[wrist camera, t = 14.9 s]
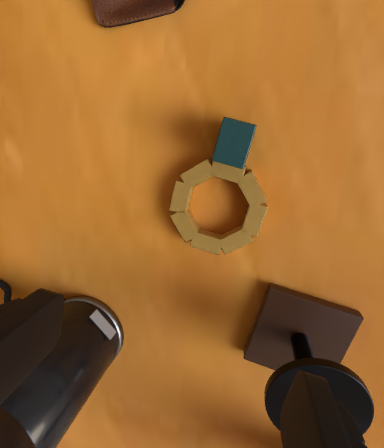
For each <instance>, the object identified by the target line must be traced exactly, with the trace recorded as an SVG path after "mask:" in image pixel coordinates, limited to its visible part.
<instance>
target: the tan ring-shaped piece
mask: <svg viewBox="0 0 384 448" xmlns="http://www.w3.org/2000/svg"><path fill="white" fill-rule="evenodd" d="M255 130H256V125H254V124H250V123H246V122H242V121H239V120H235V119H231V118H227V117H224V118H223V121H222V124H221V128H220V132H219V135H218V139H217V143H216V146H215V150H214V154H213V158H212V161H213V163H212V162H211V160H210V158H209V159H206V160H204V161H203V162H201V163H199V164H198V165H196V166H194V167H193V168H191V169H189V170H188V171H186V172H184V173H183V174H181V175H180V177H181V179H179V180H176V182H175V187H174V191H173V195H172V199H171V203H170V208H169V210H170V211H173V212H174V213H173V214H172V215H171V216H170V217H171V219H172V221H173V222H174V224H175V226H176V228H177V229H178V231H179V233H180V234H181V236H182V238H183V240H184V241H185V242H187V241H189V240H191V239H192V240H191V244H190V246H192V247H195V248H198V249H201V250H204V251H207V252H210V253H213V254H217V255H219V253H220V250H221V249H222V250H223V252H224V254H228V253H230V252H232V251H234V250H236V249H238V248H241V247H243V246H245V245H247V244H249V243H251V242H253V237H252V236H255V237H257V236H258V234H259V231H260V228H261V225H262V222H263V219H264V217H265V214H266V211H267V208H268V207H267V204H265V203H263V202H265V201H267V198H266V196H265V194H264V192H263V190H262V189H261V187H260V185H259V183H258V181H257V179H256V177H255V175H254V173H253V172H252V170H250V171H249V172H247V173H245V170H246V166H245V162H246V159H247V156H248V152H249V149H250V146H251V143H252V139H253V136H254V133H255ZM244 173H245V174H244ZM212 176H214V177H217V178H221V179H224V180H228V181H231V182H235V183H237V184H238V185H239V187H240V189H241V191H242V193H243V195H244V196H245V198H246V200H247V202H248V204H249V205H248V209H247V212H246V215H245V218H244V221H243V224H242V225H241V226H239V227H237V228H235V229H233V230H231V231H229V232H227V233H225V234H223V235H220V234H217V233H214V232H210V231H207V230H204V229H201V228H199V226H198V224H197V222H196V221H195V219H194V217H193V215H192V214H191V212H190V210H189V205H190V201H191V197H192V193H193V189H194V187H195V186H196V185H198V184H200V183H202V182H203V181H205V180H207V179H209V178H210V177H212Z"/></svg>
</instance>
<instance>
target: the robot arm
mask: <svg viewBox="0 0 384 448" xmlns="http://www.w3.org/2000/svg"><path fill="white" fill-rule="evenodd" d="M0 288H1V289H2V290H3V291H4V304H1V305H0V448H56V447H57V445H58V444H59V442H60V441H61V439H62V438H63V436H64V434H65V433H66V431H67V430H68V428H69V427H70V425H71V424H72V422H73V421H74V419H75V418H76V416H77V414H78V413H79V411H80V410H81V408H82V407H83V405H84V404H85V402H86V401H87V399H88V398H89V396H90V395H91V393H92V391H93V390H94V388H95V387H96V385H97V384H98V382H99V381H100V379H101V378H102V376H103V374H104V373H105V371H106V370H107V368H108V367H109V365H110V364H111V363H112V361H113V360H114V359H115V357H116V356H117V355H118V353H119V351H120V350H121V348H122V345H123V339H124V336H123V329H122V326H121V323H120V321H119V319H118V318H117V316H116V315H115V314H114V312H113V311H112V310H111V309H110V308H109V307H108V306H106V305H105V304H104V303H102V302H100V301H98V300H96V299H94V298H91V297H86V296H75V297H71V298H69V299H67V300H66V299H64V296H63V295H62V294H59V293H56V292H53V291H50V290H46V289H43V288H40V289H37V290H36V291H34V292H33V293H31V294H30V295H28V296H27V297H26V298H24V299H21V298H18V299H15V300H12V301H11V296H12V292H11V288H10V286H9V285H8V284H6V283H5V282H4V281H2V280H0ZM280 432H281V439H282V447H283V448H367V446H365V441H364V438H363V436H362V434H361V431H360V429H359V426H358V424H357V422H356V420H355V419H354V418H353V416H352V415H351V414H350V412H349V411H348V410H347V408H346V407H345V406H344V404H343V403H342V402H339V401H336V400H334V397H333V394H332V391H331V389H330V386H329V383H328V381H327V380H326V379H325V378H324V377H321V376H317V375H314V374H311V373H308V372H305V371H301V370H299V371H298V372H297V373H296V375H295V378H294V380H293V382H292V385H291V387H290V389H289V392H288V394H287V396H286V399H285V401H284V403H283V406H282V409H281V414H280Z"/></svg>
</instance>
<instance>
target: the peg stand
mask: <svg viewBox="0 0 384 448" xmlns="http://www.w3.org/2000/svg"><path fill="white" fill-rule="evenodd" d="M362 321H363V316H362V315H361V313H360V312H359V311H356V310H353V309H350V308H347V307H344V306H340V305H337V304H334V303H331V302H328V301H325V300H322V299H318V298H315V297H312V296H309V295H306V294H303V293H300V292H296V291H293V290H290V289H287V288H284V287H281V286H278V285H275V284H271V283H270V284H269V286H268V289H267V292H266V294H265V297H264V299H263V302H262V305H261V307H260V310H259V313H258V315H257V318H256V321H255V323H254V326H253V329H252V331H251V334H250V336H249V339H248V342H247V344H246V347H245V350H244V359H245V360H248V361H251V362H254V363H257V364H260V365H262V366H265V367H268V368H271V369H274V370H276V371H275V372H274V373H273V374H272V375H271V376H270V378H269V380H268V382H267V384H266V387H265V407H266V411H267V414H268V416H269V418H270V420H271V421H272V423H273V424H274V425H275V426H276V427H277V429H278V430H280V414H281V409H282V406H283V403H284V401H285V399H286V396H287V394H288V392H289V389H290V387H291V385H292V382H293V380H294V378H295V375H296V373H297V372H298V371H299V370H301V371H305V372H308V373H311V374H314V375H317V376H321V377H324V378H325V379H326V380H327V381H328V383H329V386H330V389H331V391H332V394H333V397H334V400H336V401H339V402H342V403H343V404H344V406H345V407H346V408H347V410H348V411H349V412H350V414H351V415H352V416H353V418H354V419H355V420H356V422H357V424H358V426H359V429H360V431H361V434H362V435H363V434H364V433H365V432H366V431H367V430H368V428H369V427H370V425H371V423H372V420H373V416H374V404H373V401H372V398H371V395H370V393H369V391H368V389H367V387H366V385H365V384H364V382H363V381H362V380H361V379H360V377H359V376H358V375H356V374H355V373H354V372H353V371H352V370H350V369H349V368H347V367H345V366H343V365H342V364H340V363H341V361H342V359H343V357H344V355H345V353H346V351H347V349H348V348H349V346H350V344H351V342H352V340H353V338H354V336H355V334H356V332H357V330H358V328H359V326H360V324H361V323H362Z"/></svg>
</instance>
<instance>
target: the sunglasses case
mask: <svg viewBox="0 0 384 448" xmlns="http://www.w3.org/2000/svg"><path fill="white" fill-rule="evenodd" d="M92 1H93V7H94V12H95V15H96V18H97V22H98V24H99V25H101V26H104V27H115V26H121V25H126V24H131V23H135V22H139V21H143V20H147V19H152V18H156V17H160V16H163V15H167V14H171V13H174V12H175V11H177V10H178V9H179V8H180V7H181V6H182V5H183V3H184V1H185V0H92Z"/></svg>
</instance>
